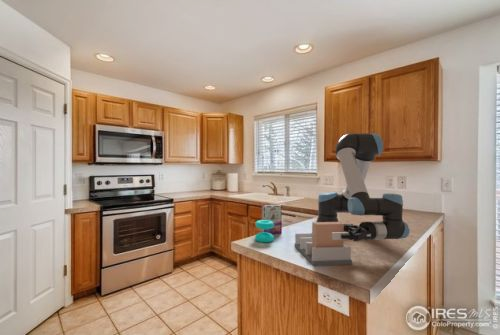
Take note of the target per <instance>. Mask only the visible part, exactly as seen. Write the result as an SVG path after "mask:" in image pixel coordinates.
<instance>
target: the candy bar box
mask: <svg viewBox="0 0 500 335" xmlns="http://www.w3.org/2000/svg"><path fill="white" fill-rule="evenodd" d="M282 208H283V207H282V205H281V204H265V205H264V204H263V205H261V220H269V221H272V222H273V223H274V226H273V228H271V229H261V232H268V233H271V234H272V235H274V234H282V232H283V231H282V229H283V228H282V225H283V221H282V219H283V218H282V217H283V216H282V214H283V212H282Z"/></svg>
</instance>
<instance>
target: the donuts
mask: <svg viewBox="0 0 500 335" xmlns="http://www.w3.org/2000/svg"><path fill="white" fill-rule="evenodd" d="M254 224H255V227H256V228H257V229H260V230H262V229H271V228H273V226H274V223H273V222H272V221H269V220H262V219H259V220H257V221H256V222H254ZM254 238H255V240H256V241H257V242H259V243H271V242H273V241H274V238H275V235H274V234H271V233H268V232H262V231H260V232H257V234H255V236H254Z"/></svg>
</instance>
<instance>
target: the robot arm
mask: <svg viewBox="0 0 500 335" xmlns="http://www.w3.org/2000/svg"><path fill="white" fill-rule="evenodd" d="M383 150H384V142H383V139H382V136H381V135H380V134H378V133H372V132H370V133H359V132H358V133H353V132H351V133H349V132H348V133H347V134H344V135H343V136H341V137H339V139H338V141H337V142H336V145H335V157H336V158H337V159H338V160H339V161H340V166H341V170H342V173H343V175H344V176H343V177H344V178H345V181H346V187H345V189H343V190H342V191H341V192H342V193H341V194H339V193H338V192H337V191H326V192H321V193H319V194H318V196H317V197H318V199H317V201H318V202H317V203H318V204H317V205H318V206H317V212H318V213H317V218H316V221H315V222H340V221H339V219H338V213H339V214H340V213H341V214H344V213H345V214H347V213H348V214H349V213H350V214H351V215H353V216H378V217H379V216H381V217H382V220H378V221H377V220H376V221H375V220H374V221H361V222H360V223H359V225H356V224H353V223H343V224H344V232H332V240H347V241H348V240H350V241H353V242H359V241H362V240H365V241H369V240H376V241H380V240H402V239H406V238H407V237H408V236H409V235H410V230H411V229H410V228H409V225H408V223H406V222H405V220H403V209H404V207H403V206H404V200H403V195H401V194H398V193H389V192H388V193H383V194H382V197H370V195H369V191H368V189H367V186H366V184H365V181H366V177H367V173H368V170H369V167H370V166H371V165H370V164H371V162H373V161H375V159H376V156H381V155H382V153H383Z"/></svg>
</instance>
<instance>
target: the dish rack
mask: <svg viewBox="0 0 500 335" xmlns="http://www.w3.org/2000/svg"><path fill="white" fill-rule="evenodd" d="M294 235H295V236H294V241H295V242H294V247H295V248H296V249H297V250H298V251H299V252H300V253H301V255H303V256H304V257H305V258H306V260H308V261H309V263H310V264H311V265H313V267H318V266H340V265H341V266H343V265H345V266H346V265H353V260H352V259H351V258H352V256H351V254H352V253H351V249H352V247H351V246H349V245H348V246H344V247H317V248H312V232H305V233H304V232H301V233H296V232H295V234H294Z"/></svg>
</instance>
